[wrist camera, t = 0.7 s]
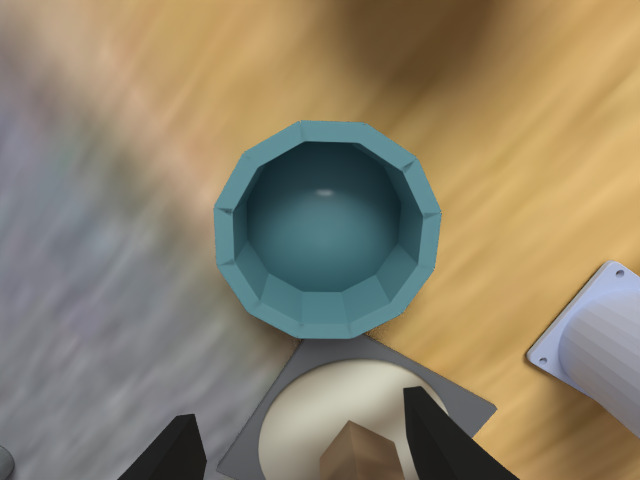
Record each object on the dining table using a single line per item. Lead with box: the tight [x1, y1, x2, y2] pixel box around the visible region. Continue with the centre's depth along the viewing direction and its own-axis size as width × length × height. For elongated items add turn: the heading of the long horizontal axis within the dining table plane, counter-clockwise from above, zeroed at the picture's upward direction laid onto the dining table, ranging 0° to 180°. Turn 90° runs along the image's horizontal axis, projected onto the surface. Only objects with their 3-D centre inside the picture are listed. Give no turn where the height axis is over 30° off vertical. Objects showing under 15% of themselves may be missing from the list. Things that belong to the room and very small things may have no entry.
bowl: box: [214, 120, 442, 339], centre depth 17 cm, size 10×10×4 cm
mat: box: [216, 333, 497, 480], centre depth 24 cm, size 14×14×1 cm
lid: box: [258, 358, 449, 480], centre depth 21 cm, size 13×13×5 cm
